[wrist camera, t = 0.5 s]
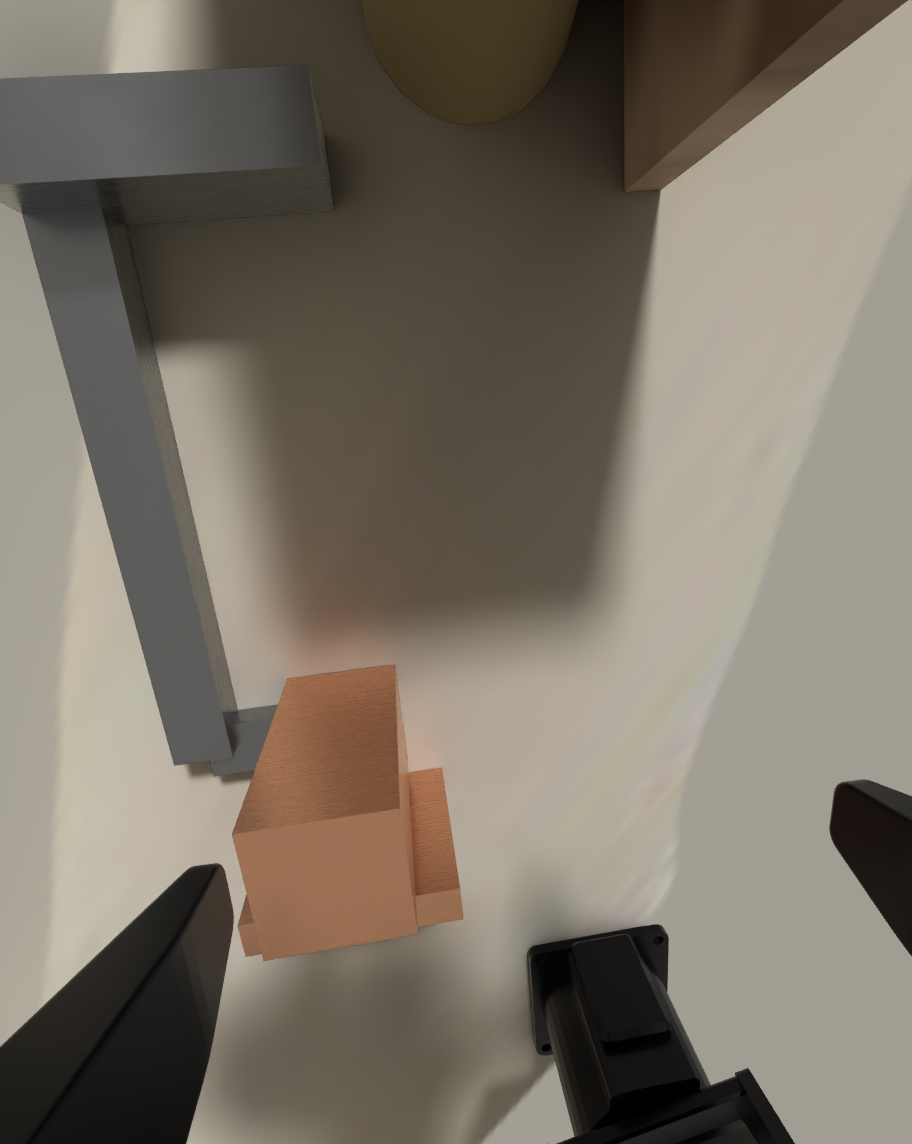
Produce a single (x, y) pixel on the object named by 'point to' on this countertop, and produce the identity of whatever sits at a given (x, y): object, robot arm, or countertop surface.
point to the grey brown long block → (161, 504)
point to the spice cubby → (720, 70)
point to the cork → (469, 52)
